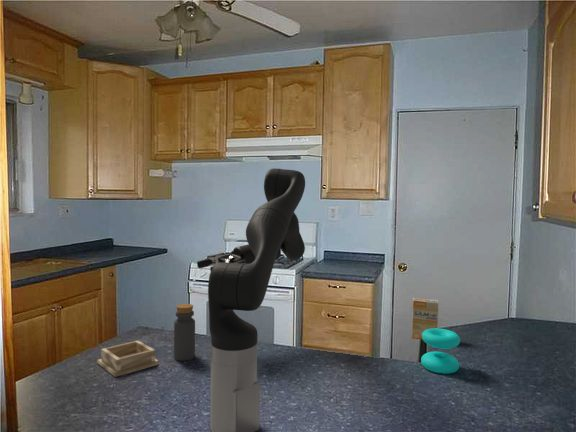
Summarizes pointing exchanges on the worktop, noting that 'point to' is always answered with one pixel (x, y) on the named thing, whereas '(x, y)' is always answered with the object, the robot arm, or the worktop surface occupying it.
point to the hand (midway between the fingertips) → (204, 267)
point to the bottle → (184, 333)
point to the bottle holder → (127, 358)
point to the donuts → (440, 360)
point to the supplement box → (423, 316)
